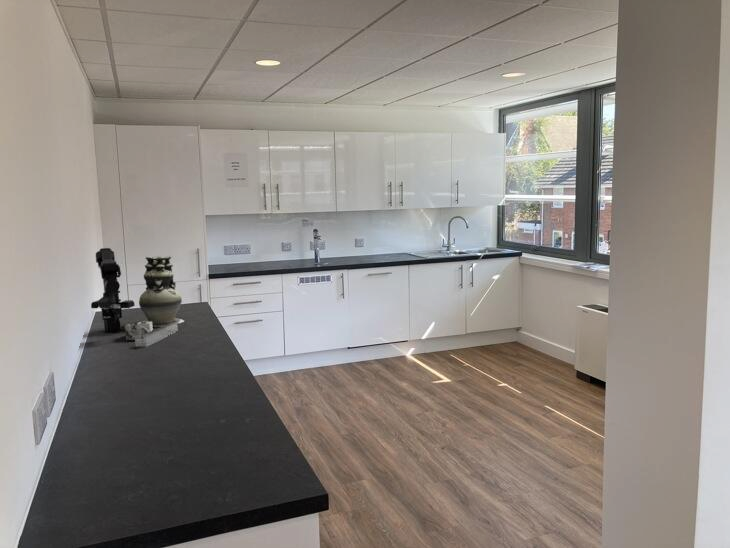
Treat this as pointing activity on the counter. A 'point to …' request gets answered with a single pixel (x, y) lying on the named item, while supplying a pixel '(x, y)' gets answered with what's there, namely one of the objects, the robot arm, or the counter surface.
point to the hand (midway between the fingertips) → (114, 322)
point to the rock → (135, 331)
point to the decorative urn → (160, 292)
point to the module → (146, 325)
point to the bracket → (157, 334)
